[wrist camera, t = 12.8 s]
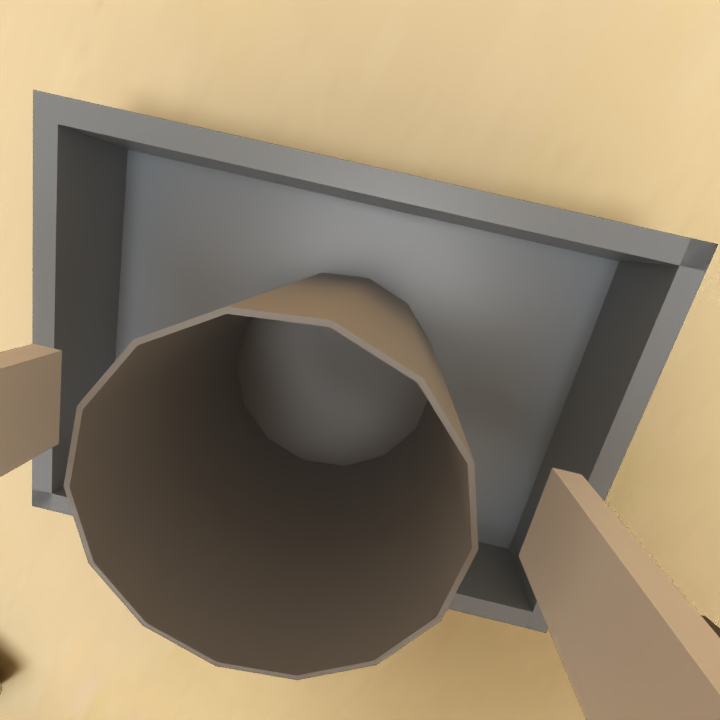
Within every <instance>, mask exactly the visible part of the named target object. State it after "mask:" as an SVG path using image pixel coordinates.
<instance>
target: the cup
mask: <svg viewBox="0 0 720 720" xmlns="http://www.w3.org/2000/svg"><path fill="white" fill-rule="evenodd" d="M64 489H65V492H66V495H67V498H68V501H69V505H70V508H71V511H72V514H73V517H74V520H75V523H76V526H77V529H78V532H79V535H80V538H81V541H82V544H83V548H84V551H85V554H86V557H87V560H88V563H89V564H90V566H91V567H92V568H93V569H94V570H95V571H96V572H97V574H98V575H99V576H100V577H101V578H102V579H103V581H104V582H105V583H106V584H107V585H108V586H109V587H110V589H111V590H112V591H113V592H114V593H115V594H116V595H117V597H118V598H119V599H120V600H121V601H122V602H123V603H124V605H125V606H126V607H127V608H128V609H129V610H130V612H131V613H132V614H133V615H134V616H135V617H136V618H137V620H138V621H139V622H140V623H141V624H142V625H143V626H144V627H146V628H148V629H150V630H151V631H153V632H155V633H157V634H159V635H160V636H162V637H164V638H166V639H168V640H170V641H171V642H173V643H175V644H177V645H179V646H180V647H182V648H184V649H186V650H188V651H189V652H191V653H193V654H195V655H197V656H198V657H200V658H202V659H204V660H206V661H208V662H209V663H211V664H213V665H215V666H218V667H224V668H230V669H236V670H242V671H247V672H253V673H259V674H265V675H271V676H277V677H283V678H288V679H294V680H300V679H305V678H310V677H316V676H321V675H326V674H331V673H337V672H342V671H347V670H352V669H358V668H363V667H368V666H373V665H377V664H379V663H380V662H381V661H383V660H384V659H386V658H387V657H389V656H390V655H392V654H393V653H395V652H396V651H397V650H399V649H400V648H402V647H403V646H405V645H406V644H408V643H409V642H411V641H412V640H413V639H415V638H416V637H418V636H419V635H421V634H422V633H424V632H425V631H427V630H428V629H429V628H431V627H432V626H434V625H435V624H437V623H438V622H440V621H441V620H442V618H443V616H444V614H445V612H446V611H447V609H448V607H449V605H450V603H451V601H452V599H453V597H454V595H455V593H456V591H457V590H458V588H459V586H460V584H461V582H462V580H463V578H464V576H465V574H466V572H467V570H468V568H469V567H470V565H471V563H472V561H473V559H474V557H475V555H476V553H477V551H478V528H477V507H476V485H475V464H474V460H473V457H472V454H471V452H470V449H469V446H468V443H467V441H466V438H465V435H464V432H463V430H462V427H461V424H460V421H459V419H458V416H457V413H456V410H455V408H454V405H453V402H452V400H451V397H450V394H449V391H448V389H447V386H446V383H445V380H444V378H443V375H442V372H441V369H440V367H439V364H438V361H437V358H436V356H435V353H434V350H433V348H432V345H431V342H430V340H429V339H428V337H427V335H426V334H425V332H424V330H423V329H422V327H421V325H420V324H419V322H418V320H417V319H416V317H415V315H414V314H413V312H412V310H411V309H410V307H409V305H408V304H407V303H406V302H404V301H403V300H401V299H400V298H398V297H397V296H395V295H394V294H392V293H391V292H389V291H387V290H386V289H384V288H383V287H381V286H380V285H378V284H377V283H375V282H374V281H372V280H371V279H369V278H363V277H355V276H347V275H339V274H330V273H319V274H317V275H314V276H311V277H308V278H305V279H302V280H300V281H297V282H294V283H291V284H288V285H285V286H283V287H280V288H277V289H274V290H271V291H268V292H266V293H263V294H260V295H257V296H254V297H251V298H248V299H246V300H243V301H240V302H237V303H234V304H231V305H229V306H226V307H223V308H220V309H217V310H215V311H212V312H209V313H206V314H203V315H201V316H198V317H195V318H192V319H189V320H187V321H184V322H181V323H178V324H175V325H173V326H170V327H167V328H164V329H161V330H159V331H156V332H153V333H150V334H148V335H145V336H142V337H139V338H136V339H134V340H132V342H131V343H130V344H129V345H128V346H127V348H126V349H125V350H124V351H123V352H122V353H121V355H120V356H119V357H118V358H117V359H116V360H115V362H114V363H113V364H112V365H111V366H110V368H109V369H108V370H107V371H106V372H105V373H104V375H103V376H102V377H101V378H100V379H99V381H98V382H97V383H96V384H95V385H94V386H93V388H92V389H91V390H90V391H89V392H88V394H87V395H86V396H85V397H84V398H83V399H82V401H81V402H80V403H79V404H78V405H77V409H76V415H75V421H74V427H73V433H72V439H71V445H70V451H69V457H68V463H67V469H66V475H65V481H64Z"/></svg>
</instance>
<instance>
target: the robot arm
mask: <svg viewBox="0 0 720 720" xmlns="http://www.w3.org/2000/svg"><path fill="white" fill-rule="evenodd" d="M61 364H62V350H58V349H54V348H50V347H45V346H41V345H37V344H31V345H27V346H23V347H19V348H15V349H11V350H8V351H4V352H0V477H1V476H3V475H5V474H6V473H8V472H10V471H12V470H13V469H15V468H17V467H19V466H21V465H22V464H24V463H26V462H28V461H29V460H31V459H33V458H35V457H36V456H38V455H40V454H42V453H43V452H45V451H47V450H49V449H50V448H52V447H54V446H56V445H57V444H59V423H60V393H61ZM519 558H520V561H521V563H522V565H523V568H524V570H525V573H526V575H527V578H528V580H529V582H530V585H531V587H532V590H533V592H534V595H535V597H536V600H537V602H538V604H539V607H540V609H541V612H542V614H543V617H544V619H545V621H546V624H547V626H548V629H549V631H550V634H551V636H552V638H553V641H554V643H555V646H556V648H557V651H558V653H559V656H560V658H561V660H562V663H563V665H564V668H565V670H566V673H567V675H568V677H569V680H570V682H571V685H572V687H573V690H574V692H575V694H576V697H577V699H578V702H579V704H580V707H581V709H582V712H583V714H584V716H585V719H586V720H720V628H719V627H717V626H716V625H715V624H714V623H713V622H711V621H710V620H709V619H708V618H707V617H705V616H702V615H700V614H699V613H698V612H697V610H696V609H695V608H694V607H693V606H692V604H691V603H690V602H689V601H688V600H687V599H686V597H685V596H684V595H683V594H682V593H681V591H680V590H679V589H678V588H677V587H676V586H675V584H674V583H673V582H672V581H671V580H670V578H669V577H668V576H667V575H666V574H665V573H664V571H663V570H662V569H661V568H660V567H659V565H658V564H657V563H656V562H655V561H654V560H653V558H652V557H651V556H650V555H649V554H648V552H647V551H646V550H645V549H644V548H643V546H642V545H641V544H640V543H639V542H638V541H637V539H636V538H635V537H634V536H633V535H632V533H631V532H630V531H629V530H628V529H627V528H626V526H625V525H624V524H623V523H622V522H621V520H620V519H619V518H618V517H617V516H616V515H615V513H614V512H613V511H612V510H611V509H610V507H609V506H608V505H607V504H606V503H605V502H604V500H603V499H602V498H601V497H600V496H599V494H598V493H597V492H596V491H595V490H594V489H593V487H592V486H591V485H590V484H589V483H588V481H587V480H586V479H585V478H584V477H583V476H582V475H581V474H577V473H573V472H569V471H565V470H560V469H556V468H552V470H551V472H550V475H549V477H548V480H547V483H546V485H545V488H544V490H543V493H542V496H541V498H540V501H539V504H538V506H537V509H536V511H535V514H534V517H533V519H532V522H531V524H530V527H529V530H528V532H527V535H526V537H525V540H524V543H523V545H522V548H521V550H520V553H519Z"/></svg>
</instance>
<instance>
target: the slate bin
mask: <svg viewBox="0 0 720 720" xmlns="http://www.w3.org/2000/svg"><path fill="white" fill-rule="evenodd" d="M717 246H718V244H715V243H710V242H706V241H701V240H697V239H692V238H688V237H684V236H679V235H675V234H670V233H666V232H661V231H657V230H653V229H648V228H644V227H639V226H635V225H630V224H626V223H622V222H617V221H613V220H608V219H604V218H599V217H595V216H591V215H586V214H582V213H577V212H573V211H568V210H564V209H560V208H555V207H551V206H546V205H542V204H537V203H533V202H529V201H524V200H520V199H515V198H511V197H506V196H502V195H498V194H493V193H489V192H484V191H480V190H475V189H471V188H467V187H462V186H458V185H453V184H449V183H444V182H440V181H436V180H431V179H427V178H422V177H418V176H413V175H409V174H405V173H400V172H396V171H391V170H387V169H382V168H378V167H373V166H369V165H365V164H360V163H356V162H351V161H347V160H342V159H338V158H334V157H329V156H325V155H320V154H316V153H311V152H307V151H303V150H298V149H294V148H289V147H285V146H280V145H276V144H272V143H267V142H263V141H258V140H254V139H249V138H245V137H241V136H236V135H232V134H227V133H223V132H218V131H214V130H210V129H205V128H201V127H196V126H192V125H187V124H183V123H179V122H174V121H170V120H165V119H161V118H156V117H152V116H148V115H143V114H139V113H134V112H130V111H125V110H121V109H117V108H112V107H108V106H103V105H99V104H94V103H90V102H86V101H81V100H77V99H72V98H68V97H63V96H59V95H55V94H50V93H46V92H41V91H37V90H33V344H37V345H41V346H45V347H50V348H54V349H58V350H62V364H61V393H60V423H59V444H57V445H56V446H54V447H52V448H50V449H49V450H47V451H45V452H43V453H42V454H40V455H38V456H36V457H35V458H33V459H32V506H35V507H39V508H43V509H47V510H52V511H56V512H60V513H64V514H68V515H72V516H73V514H72V511H71V508H70V505H69V501H68V498H67V495H66V492H65V489H64V481H65V475H66V469H67V463H68V457H69V451H70V445H71V439H72V433H73V427H74V421H75V415H76V409H77V405H78V404H79V403H80V402H81V401H82V399H83V398H84V397H85V396H86V395H87V394H88V392H89V391H90V390H91V389H92V388H93V386H94V385H95V384H96V383H97V382H98V381H99V379H100V378H101V377H102V376H103V375H104V373H105V372H106V371H107V370H108V369H109V368H110V366H111V365H112V364H113V363H114V362H115V360H116V359H117V358H118V357H119V356H120V355H121V353H122V352H123V351H124V350H125V349H126V348H127V346H128V345H129V344H130V343H131V342H132V340H134V339H136V338H139V337H142V336H145V335H148V334H150V333H153V332H156V331H159V330H161V329H164V328H167V327H170V326H173V325H175V324H178V323H181V322H184V321H187V320H189V319H192V318H195V317H198V316H201V315H203V314H206V313H209V312H212V311H215V310H217V309H220V308H223V307H226V306H229V305H231V304H234V303H237V302H240V301H243V300H246V299H248V298H251V297H254V296H257V295H260V294H263V293H266V292H268V291H271V290H274V289H277V288H280V287H283V286H285V285H288V284H291V283H294V282H297V281H300V280H302V279H305V278H308V277H311V276H314V275H317V274H319V273H330V274H339V275H347V276H355V277H363V278H369V279H371V280H372V281H374V282H375V283H377V284H378V285H380V286H381V287H383V288H384V289H386V290H387V291H389V292H391V293H392V294H394V295H395V296H397V297H398V298H400V299H401V300H403V301H404V302H406V303H407V304H408V305H409V307H410V309H411V310H412V312H413V314H414V315H415V317H416V319H417V320H418V322H419V324H420V325H421V327H422V329H423V330H424V332H425V334H426V335H427V337H428V339H429V340H430V342H431V345H432V348H433V350H434V353H435V356H436V358H437V361H438V364H439V367H440V369H441V372H442V375H443V378H444V380H445V383H446V386H447V389H448V391H449V394H450V397H451V400H452V402H453V405H454V408H455V410H456V413H457V416H458V419H459V421H460V424H461V427H462V430H463V432H464V435H465V438H466V441H467V443H468V446H469V449H470V452H471V454H472V457H473V460H474V464H475V485H476V507H477V528H478V551H477V553H476V555H475V557H474V559H473V561H472V563H471V565H470V567H469V568H468V570H467V572H466V574H465V576H464V578H463V580H462V582H461V584H460V586H459V588H458V590H457V591H456V593H455V595H454V597H453V599H452V601H451V603H450V605H449V607H448V609H451V610H456V611H460V612H464V613H468V614H472V615H476V616H480V617H484V618H488V619H492V620H496V621H500V622H504V623H508V624H512V625H516V626H520V627H524V628H528V629H532V630H536V631H540V632H544V633H546V632H547V630H548V626H547V624H546V621H545V619H544V617H543V614H542V612H541V609H540V607H539V604H538V602H537V600H536V597H535V595H534V592H533V590H532V587H531V585H530V582H529V580H528V578H527V575H526V573H525V570H524V568H523V565H522V563H521V561H520V558H519V553H520V550H521V548H522V545H523V543H524V540H525V537H526V535H527V532H528V530H529V527H530V524H531V522H532V519H533V517H534V514H535V511H536V509H537V506H538V504H539V501H540V498H541V496H542V493H543V490H544V488H545V485H546V483H547V480H548V477H549V475H550V472H551V470H552V468H556V469H560V470H565V471H569V472H573V473H577V474H581V475H582V476H583V477H584V478H585V479H586V480H587V481H588V483H589V484H590V485H591V486H592V487H593V489H594V490H595V491H596V492H597V493H598V494H599V496H600V497H601V498H602V499H603V500H604V501H605V499H606V496H607V494H608V492H609V490H610V487H611V485H612V483H613V480H614V478H615V476H616V474H617V471H618V469H619V467H620V465H621V462H622V460H623V458H624V456H625V453H626V451H627V449H628V447H629V444H630V442H631V440H632V438H633V435H634V433H635V431H636V429H637V426H638V424H639V422H640V419H641V417H642V415H643V413H644V410H645V408H646V406H647V404H648V401H649V399H650V397H651V395H652V392H653V390H654V388H655V386H656V383H657V381H658V379H659V377H660V374H661V372H662V370H663V368H664V365H665V363H666V361H667V359H668V356H669V354H670V352H671V349H672V347H673V345H674V343H675V340H676V338H677V336H678V334H679V331H680V329H681V327H682V325H683V322H684V320H685V318H686V316H687V313H688V311H689V309H690V307H691V304H692V302H693V300H694V298H695V295H696V293H697V291H698V288H699V286H700V284H701V282H702V279H703V277H704V275H705V273H706V270H707V268H708V266H709V264H710V261H711V259H712V257H713V255H714V252H715V250H716V248H717Z"/></svg>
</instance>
